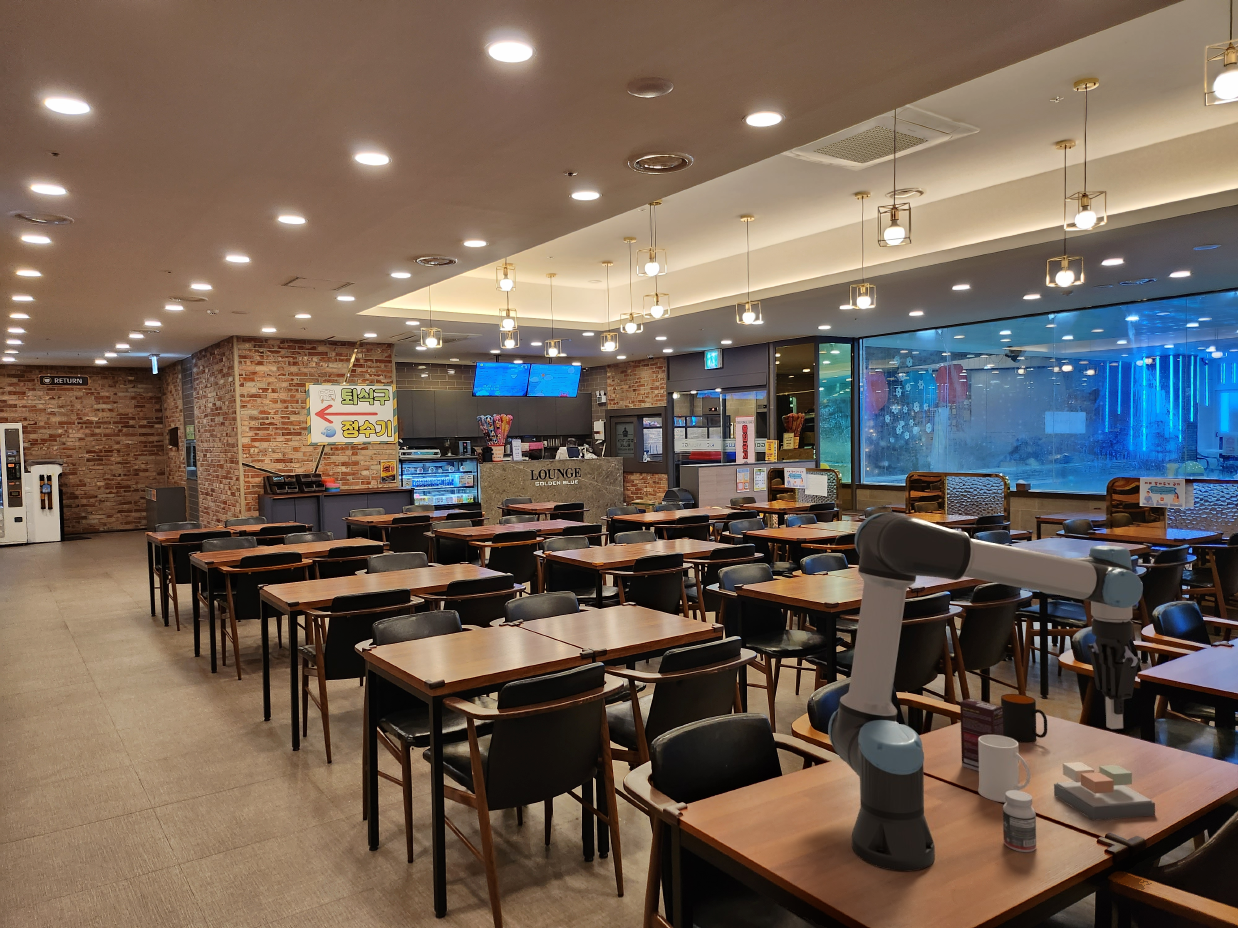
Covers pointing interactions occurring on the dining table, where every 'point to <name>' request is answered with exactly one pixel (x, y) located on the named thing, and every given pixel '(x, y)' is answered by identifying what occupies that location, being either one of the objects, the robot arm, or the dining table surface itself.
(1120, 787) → the keypad
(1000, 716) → the supplement box
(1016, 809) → the pill bottle
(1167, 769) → the dining table surface
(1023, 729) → the mug
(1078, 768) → the cream key
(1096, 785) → the terracotta key
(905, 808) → the robot arm
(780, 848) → the dining table surface
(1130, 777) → the sage key
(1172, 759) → the dining table surface
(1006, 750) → the mug
